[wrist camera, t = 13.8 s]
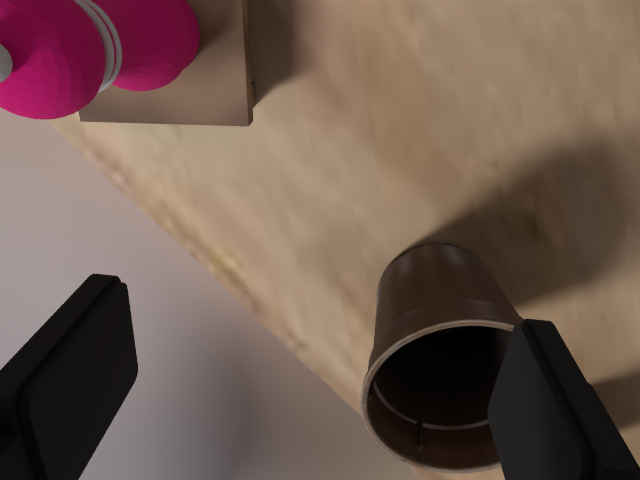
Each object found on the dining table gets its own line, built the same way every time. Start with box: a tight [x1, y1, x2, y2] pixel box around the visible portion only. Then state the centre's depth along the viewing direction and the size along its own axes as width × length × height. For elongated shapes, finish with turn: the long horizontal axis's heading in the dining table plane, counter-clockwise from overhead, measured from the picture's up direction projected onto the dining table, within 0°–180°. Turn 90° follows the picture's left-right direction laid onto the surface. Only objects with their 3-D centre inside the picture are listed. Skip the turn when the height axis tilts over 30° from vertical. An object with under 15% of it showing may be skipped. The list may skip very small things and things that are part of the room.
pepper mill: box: [0, 0, 200, 119], centre depth 27 cm, size 7×7×20 cm
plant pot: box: [361, 244, 524, 474], centre depth 45 cm, size 16×16×16 cm
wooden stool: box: [79, 0, 256, 126], centre depth 39 cm, size 14×14×6 cm
